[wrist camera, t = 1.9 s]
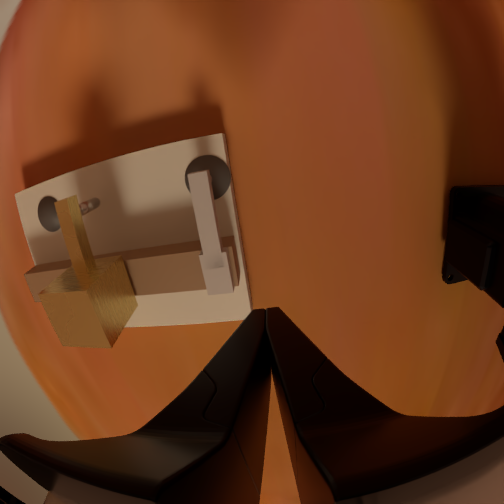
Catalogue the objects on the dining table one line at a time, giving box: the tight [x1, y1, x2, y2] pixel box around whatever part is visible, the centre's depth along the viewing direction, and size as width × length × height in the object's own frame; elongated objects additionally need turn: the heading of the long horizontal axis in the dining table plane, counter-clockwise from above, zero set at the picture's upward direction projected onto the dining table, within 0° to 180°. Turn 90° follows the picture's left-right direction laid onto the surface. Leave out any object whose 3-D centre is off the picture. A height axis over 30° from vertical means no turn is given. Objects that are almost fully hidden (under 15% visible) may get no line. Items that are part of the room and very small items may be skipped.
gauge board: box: [15, 133, 253, 327], centre depth 14 cm, size 14×10×3 cm
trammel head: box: [38, 195, 138, 348], centre depth 12 cm, size 3×6×5 cm, turn 8°
